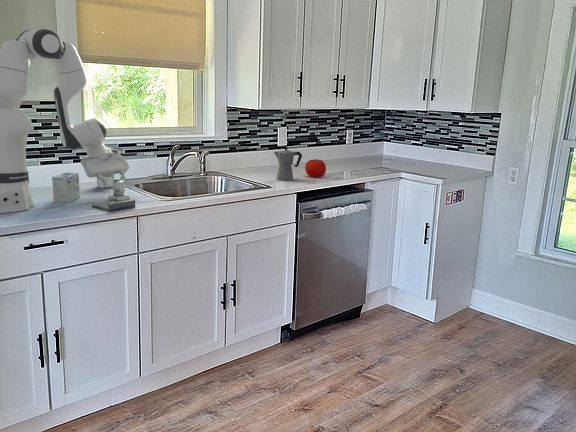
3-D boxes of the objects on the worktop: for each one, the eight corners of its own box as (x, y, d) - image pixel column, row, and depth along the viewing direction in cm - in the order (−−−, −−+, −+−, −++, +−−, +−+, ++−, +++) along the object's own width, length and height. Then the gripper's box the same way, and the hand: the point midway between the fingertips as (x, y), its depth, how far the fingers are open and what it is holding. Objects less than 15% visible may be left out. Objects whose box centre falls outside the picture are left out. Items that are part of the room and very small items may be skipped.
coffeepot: (272, 180, 288) (273, 147, 284) (273, 177, 297) (274, 145, 293) (300, 181, 287) (302, 148, 283) (301, 178, 296) (302, 146, 292)
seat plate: (110, 211, 210) (110, 204, 209) (92, 206, 217) (91, 199, 216) (135, 206, 219) (135, 199, 219) (117, 202, 226) (116, 195, 225)
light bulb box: (65, 196, 232) (64, 172, 230) (80, 197, 232) (79, 173, 229) (53, 201, 222) (51, 176, 219) (68, 202, 221) (66, 177, 219)
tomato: (324, 175, 309) (325, 157, 307) (326, 179, 298) (327, 160, 296) (304, 174, 309) (304, 157, 306) (305, 178, 298) (306, 160, 295)
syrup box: (107, 185, 258) (106, 155, 255) (114, 187, 255) (113, 157, 251) (97, 186, 254) (95, 156, 250) (104, 188, 250) (102, 158, 247)
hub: (117, 201, 227) (116, 182, 225) (108, 199, 231) (107, 180, 229) (130, 199, 232) (129, 180, 230) (120, 197, 236) (120, 178, 234)
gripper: (81, 154, 225) (96, 180, 222) (122, 149, 241) (136, 174, 238) (76, 163, 228) (91, 189, 225) (116, 158, 244) (130, 182, 241)
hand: (115, 181), depth 232 cm, fingers open, 8 cm apart
